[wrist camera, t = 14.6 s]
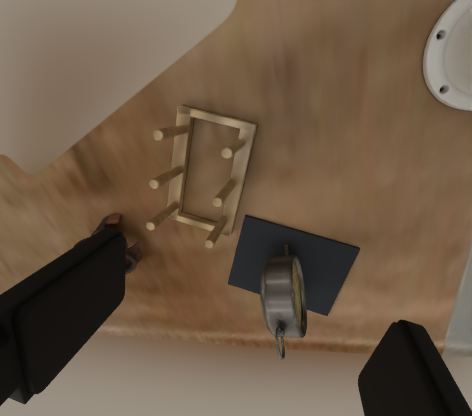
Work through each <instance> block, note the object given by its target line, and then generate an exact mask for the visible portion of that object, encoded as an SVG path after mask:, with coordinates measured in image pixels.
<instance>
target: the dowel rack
mask: <svg viewBox="0 0 472 416" xmlns="http://www.w3.org/2000/svg"><path fill="white" fill-rule="evenodd" d="M194 117H195V118H199V119H203V120H207V121H211V122H215V123H219V124H223V125H227V126H231V127H235V128H239V129H240V133H239V138H238V140H237V141H235V142H234V143H232V144H230V145H229V146H227V147H225V148H224V149H223V150H222V156H223V157H224V158H226V159H228V158H230V157H232V156H233V155H234V154H235V157H234V162H233V167H232V171H231V176H230V181H229V182H228V183H227V184H226V185H225V186H224V187H223V189H222V190H221V191H220V192H219V193H218V194H217V195H216V197H215V198H214V199H213V201H212V203H213V205H214V206H216V207H220V206H221V205H222V204H223V202H224V201H225V205H224V209H223V214H222V217H221V218H220V220H219V221H218V223H217V222H214V221H210V220H207V219H204V218H200V217H197V216H193V215H190V214H187V213H183V212H182V205H183V197H184V190H185V182H186V175H187V168H188V160H189V153H190V146H191V138H192V131H193V123H194ZM257 126H258V124H255V123H251V122H247V121H243V120H239V119H235V118H231V117H227V116H223V115H219V114H215V113H211V112H206V111H202V110H198V109H194V108H190V107H186V106H178V111H177V120H176V126H174V127H169V128H163V129H158V130H155V131H154V132H153V136H154V138H155V139H156V140H158V141H160V140H163V139H167V138H171V137H174V136H175V138H174V147H173V157H172V166H171V170H169V171H167V172H165V173H164V174H162V175H160V176H158V177H156V178H154V179H152V180H151V181H150V186H151V187H152V188H153V189H157V188H158V187H160V186H162V185H163V184H165V183H166V182H168V181H170V184H169V193H168V203H167V208H165V209H164V210H163V211H162V212H160V213H159V214H158V215H157V216H155V217H154V218H153V219H152V220H150V221H149V222H148V223H147V224H146V226H147V228H148V229H149V230H154V229H155V228H156V227H157V226H158V225H159V224H161V223H162V222H163V221H164V220H165V219H166V218H170V219H173V220H176V221H180V222H183V223H187V224H190V225H193V226H196V227H200V228H203V229H206V230H210V231H212V232H211V233H210V235H209V236H208V238H207V239H206V241H205V246H206V247H207V248H212V247H213V246H214V244H215V242H216V240H217V239H218V237H219V235H220V234H223V235H226V236H231V234H232V232H233V228H234V223H235V219H236V215H237V211H238V207H239V202H240V198H241V194H242V190H243V185H244V181H245V177H246V173H247V168H248V164H249V160H250V156H251V151H252V147H253V143H254V139H255V134H256V130H257Z"/></svg>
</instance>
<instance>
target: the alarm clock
mask: <svg viewBox="0 0 472 416" xmlns="http://www.w3.org/2000/svg"><path fill="white" fill-rule="evenodd" d="M284 247H285V252H284V255H282V256H271V257H269V258H268V259H267V260H266V261H265V263H264V265H263V267H262V271H261V275H260V277H261V279H260V298H261V307H262V312H263V317H264V320H265V323H266V326H267V328H268V330H269V331H270V332H271V333H272V334H273V335H274V336H275V342H276V348H277V352H278V355H279V357H280V359H282V360H283V359H284V357H285V348H284V340H283V337H300V338H303V337H304V336H305V334H306V329H307V309H306V295H305V287H304V280H303V274H302V270H301V265H300V262H299V259H298V258H297V256H296V255H295V254H292V255H289V252H288V244H285V245H284ZM278 337H281V342H282V355H281V353H280V350H279V344H278Z"/></svg>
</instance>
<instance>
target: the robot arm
mask: <svg viewBox="0 0 472 416" xmlns="http://www.w3.org/2000/svg"><path fill="white" fill-rule="evenodd" d="M437 34H438V35H439V39H437V38H436V35H437ZM423 75H424V78H425V81H426V84H427V86H428V88H429V90H430V91H431V93H432V94H433V95H434V96H435V97H436V98H437V99H438V100H439V101H440V102H442V103H444V104H445V105H447V106H449V107H452V108H455V109H460V110H468V111H472V0H455V1H454V2H453V3H452V4H451V5H450V6H449V7H448V8H447V9H446V10H445V12H444V13H443V14H442V15H441V17H440V18H439V20H438V21H437V23H436V24H435V26H434V27H433V29H432V31H431V34H430V36H429V38H428V40H427V43H426V47H425V50H424V56H423ZM440 88H442V91H441V92H440ZM125 268H126V238H124V237H123V234H122V233H121V232H119V231H116V230H113V229H109V228H104V229H102V230H100V231H99V232H97V233H95V234H94V235H92V236H91V237H89V238H88V239H86V240H85V241H83V242H82V243H80V244H78V245H77V246H75V247H74V248H72V249H71V250H69V251H68V252H66V253H64V254H63V255H61V256H60V257H58V258H57V259H55V260H54V261H52V262H51V263H49V264H47V265H46V266H44V267H43V268H41V269H40V270H38V271H37V272H35V273H34V274H32V275H30V276H29V277H27V278H26V279H24V280H23V281H21V282H20V283H18V284H16V285H15V286H13V287H12V288H10V289H9V290H7V291H6V292H4V293H3V294H1V295H0V406H1V405H2V404H3V402H5V401H6V400H7V399H8V398H11V399H13V400H15V401H18V402H20V403H23V404H26V403H27V402H28V401H29V399H30V398H31V397H32V396H33V395H34V394H39V393H41V392H42V391H43V390H44V389H45V388H46V387H47V386H48V385H49V384H50V383H51V381H52V380H53V379H54V378H55V377H56V376H57V374H58V373H59V372H60V371H61V370H62V369H63V368H64V367H65V366H66V364H67V363H68V362H69V361H70V360H71V359H72V358H73V356H74V355H75V354H76V353H77V352H78V351H79V350H80V349H81V348H82V346H83V345H84V344H85V343H86V342H87V341H88V340H89V338H90V337H91V336H92V335H93V334H94V333H95V332H96V331H97V329H98V328H99V327H100V326H101V325H102V324H103V323H104V322H105V320H106V319H107V318H108V317H109V316H110V315H111V314H112V312H113V311H114V310H115V309H116V308H117V307H118V306H119V305H120V303H121V302H122V300H123V298H124V295H125ZM358 387H359V392H360V397H361V401H362V406H363V410H364V415H365V416H472V411H471V409H470V407H469V405H468V404H467V402H466V400H465V398H464V397H463V395H462V393H461V391H460V390H459V388H458V386H457V384H456V382H455V381H454V379H453V377H452V375H451V373H450V372H449V370H448V368H447V366H446V365H445V363H444V361H443V360H442V358H441V356H440V354H439V352H438V350H437V349H436V347H435V345H434V343H433V342H432V340H431V338H430V336H429V334H428V333H427V331H426V329H425V328H424V327H423V326H421V325H419V324H415V323H412V322H409V321H406V320H399V321H398V322H397V323H396V322H393V323H392V324H391V325H390V327H389V328H388V330H387V332H386V333H385V335H384V336H383V338H382V340H381V341H380V343H379V344H378V346H377V347H376V349H375V351H374V352H373V354H372V356H371V357H370V359H369V360H368V362H367V363H366V365H365V366H364V368H363V370H362V371H361V373H360V375H359V378H358Z"/></svg>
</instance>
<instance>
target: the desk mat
mask: <svg viewBox="0 0 472 416" xmlns="http://www.w3.org/2000/svg"><path fill="white" fill-rule="evenodd" d="M285 244H288V252H289V255H292V254H295V255H296V256H297V258H298V259H299V262H300V265H301V270H302V274H303V280H304V287H305V295H306V309H307V310H310V311H313V312H316V313H319V314H322V315H326V316H328V314H329V312H330V310H331V308H332V306H333V304H334V302H335V299H336V297H337V295H338V293H339V291H340V289H341V287H342V285H343V283H344V281H345V279H346V277H347V275H348V273H349V271H350V269H351V267H352V265H353V263H354V261H355V259H356V257H357V255H358V253H359V250H360V248H359V247H355V246H352V245H348V244H345V243H341V242H338V241H335V240H331V239H328V238H324V237H321V236H317V235H314V234H310V233H307V232H303V231H300V230H297V229H293V228H290V227H286V226H283V225H279V224H276V223H272V222H269V221H265V220H262V219H258V218H255V217H252V216H248V215H245V218H244V222H243V226H242V230H241V234H240V238H239V242H238V246H237V250H236V254H235V258H234V262H233V266H232V270H231V274H230V278H229V282H228V284H230V285H233V286H236V287H239V288H242V289H245V290H248V291H251V292H254V293H258V294H260V279H261V277H260V275H261V271H262V267H263V265H264V263H265V261H266V260H267V259H268V258H269V257H271V256H282V255H284V252H285V247H284V245H285Z"/></svg>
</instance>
